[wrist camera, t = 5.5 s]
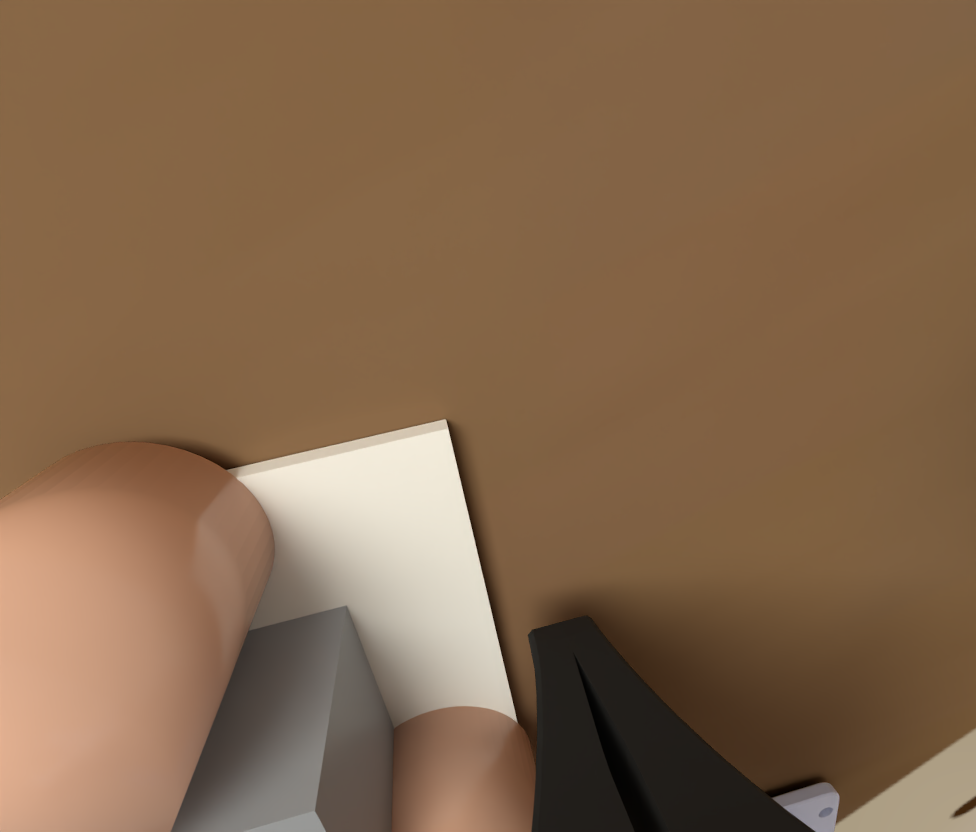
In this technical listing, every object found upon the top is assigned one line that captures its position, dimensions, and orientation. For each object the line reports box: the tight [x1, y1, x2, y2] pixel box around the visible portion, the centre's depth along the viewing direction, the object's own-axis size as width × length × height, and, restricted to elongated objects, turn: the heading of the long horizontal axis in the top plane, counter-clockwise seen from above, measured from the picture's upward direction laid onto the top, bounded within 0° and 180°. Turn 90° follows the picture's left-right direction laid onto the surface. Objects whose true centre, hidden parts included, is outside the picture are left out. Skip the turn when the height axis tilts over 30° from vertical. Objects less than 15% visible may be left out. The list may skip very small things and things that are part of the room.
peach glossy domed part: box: [0, 442, 275, 832], centre depth 7 cm, size 4×4×4 cm
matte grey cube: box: [171, 605, 394, 832], centre depth 9 cm, size 4×4×4 cm
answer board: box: [226, 419, 518, 728], centre depth 11 cm, size 11×14×1 cm
